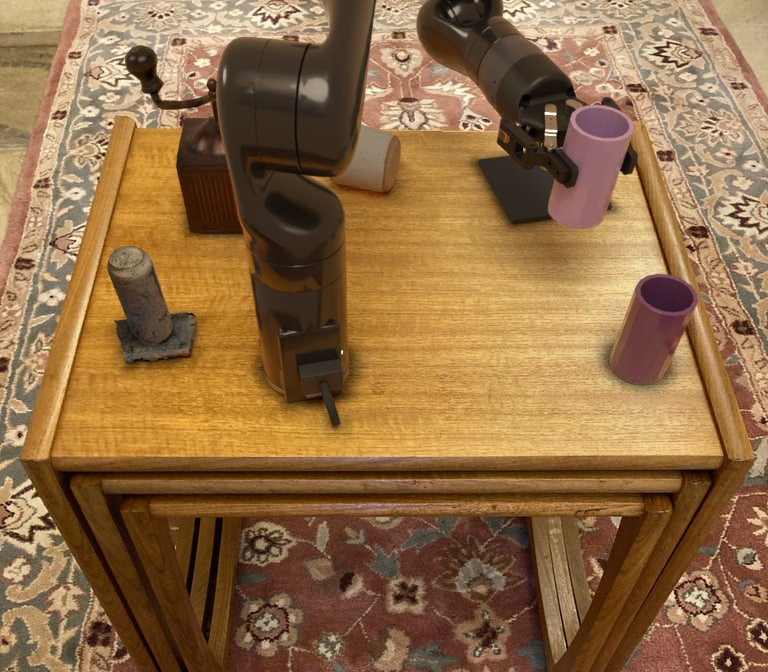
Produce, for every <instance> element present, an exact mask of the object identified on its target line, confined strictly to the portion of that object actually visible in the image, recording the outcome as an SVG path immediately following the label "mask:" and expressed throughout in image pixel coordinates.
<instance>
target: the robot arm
mask: <svg viewBox="0 0 768 672" xmlns="http://www.w3.org/2000/svg"><path fill="white" fill-rule="evenodd" d="M377 1H378V0H320V2H321V5H322V8H323V11H324V15H325V17H326V21H327V24H328V33H327V37H326V38H325V40H323V42H321V43H311V42H307V41H306V42H305V41H296V40H287V39H279V38H278V39H277V38H269V37H268V38H267V37H258V36H237V37H235V38H234V39H232V40H230V41H229V42H228V43H227V45H226V46H225V47H224V49H223V51H222V53H221V55H220V59H219V62H218V67H217V73H216V81H217V84H216V101H217V111H218V120H219V127H220V132H221V138H222V143H223V148H224V152H225V157H226V161H227V166H228V170H229V174H230V179H231V184H232V188H233V193H234V199H235V205H236V210H237V215H238V218H239V221H240V224H241V226H242V228H243V240H244V245H245V246H244V247H245V252H246V260H247V267H248V272H249V281H250V286H251V294H252V299H253V306H254V312H255V320H256V327H257V333H258V346H259V348H260V351H261V357H262V371H263V376H264V378H265V381H266V382H267V384H268V385H269V386H270V387H271V388H272V389H273V390H274V391H275V392H277V393H279V394H281V395H282V396H283V397H284V399H285V402H286V403H294V402H300V401H306V400H312V399H318V398H322V399H323V402H324V406H325V408H326V412H327V415H328V418H329V422H330V424H331V426H332V427H338V426H340V425H341V424H342V423H341V418H340V416H339V413H338V408H337V406H336V403H335V400H334V395H339V394H340V395H341V394H343V392H344V389H345V388H344V383H345V382H346V380H347V378H348V376H349V372H350V357H349V336H348V335H349V334H348V329H349V328H348V291H347V290H348V288H347V231H346V226H347V225H346V212H345V208H344V204H343V202H342V200H341V198H340V197H339V196H338V194H337V193H336V192H335V191H334V190H333V189H332V188H330V187H329V186H327V184H325V183H323V182H322V181H320V180H317V179H316V178H330V177H338V176H340V175H342V174H343V173H345V172H346V170H347V169H348V168H349V166H350V164H351V162H352V160H353V157H354V154H355V152H356V148H357V144H358V140H359V134H360V129H361V125H362V122H363V114H364V106H365V99H366V91H367V81H368V74H369V64H370V58H371V57H370V55H371V49H372V39H373V29H374V23H375V13H376V9H377V8H376V7H377ZM504 8H505V7H504V0H426V1H425V2H424V3H423V4H422V5H421V6H420V8H419V10H418V11H417V14H416V19H415V30H416V35H417V38H418V41H419V43H420V45H421V47H422V48H423V49H424V51H425V52H426V54H427V55H428V56H429V57H430V58H431V59H432V60H433V61H435V62H436V63H438V64H439V65H441V66H443V67H444V68H447V69H449V70H451V71H453V72H456V73H458V74H460V75H463V76H465V77H467V78H469V79H470V80H471V81H472V83H474V84H475V86H476V87H477V88H478V89H479V90H480V91H481V92H482V94H483V96H484V97H485V100H486V101H487V103H488V104H489V105H490V107H491V108H492V109H493V110H494V111H495V112H496V113H497V115H498V116H499V117H500V120H499V126H498V132H497V138H496V144H497V145H498V146H499V147H500V148H502V150H503V151H504V152H505V153H506V154H507V155H510V156H511V157H512V158H513V159H514V160H515V161H516V162H517V163H518V164H519V165H520V166H521V167H522V168H523V169H525V170H532V169H533V167H534V166H540V168H541V169H543V170H548V171H549V173H550V174H551V175H552V176H553V177H554V178H555V179H556V181H557V182H558V183H560V184H563V185H564V186H565V187H566V188H567V189H568V188H572V187H574V186H575V184H576V181H577V177H578V174H579V169H578V167H577V166H576V165H575V163H574V162H573V161H572V160H571V159H570V158H569V157H568V156H567V155H566V154H565V152H564V151H563V150H562V149H561V148H563V145H564V141H565V137H566V133H567V129H568V125H569V122H570V118H571V115H572V113H573V112H574V111H575V110H577V109H578V108H580V107H584V106H587V105H589V103H588V102H586V101H584V100H581V99H579V98H578V97H577V95H576V92H575V88H574V85H573V83H572V80H571V78H570V77H569V76H568V75H567V74H566V73H565V72H564V71H563V69H562V68H560V67H559V65H557V64H556V63H555V62H554V60H552V59H551V58H550V57H549V56H548V55H547V54H546V53H545V52H544V51H543V50H542V48H540V47H539V46H538V45H537V44H536V43H534V42H532V41H530V40H529V39H528V38H527V37H525V35H524V34H523V33H522V32H521V31H520V30H519V29H518V27H517V28H516V26H515V25H513V23H512V22H510V21H509V20H508V19H507V18H505V17H504V10H505V9H504ZM600 105H603V106H608V107H612V108H615V109H617V110H619V111H621V112H623V113H624V111H623V110H622V109H621V107H619V105H618V103H616V101H615V100H614V99H613V98H612V97H609V96H605V97H602V99H601V102H600ZM638 157H639V153H638V151H636V150H635V149H634V148H633V147H632V145H630V144H629V146H628V149H627V152H626V155H625V158H624V161H623V163H622V166H621V169H620V173H621V174H622V175H623V176H628V175H632V174H633V172H634V170H635V167H636V165H637V161H638ZM314 177H315V178H314Z"/></svg>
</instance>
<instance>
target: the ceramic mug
mask: <svg viewBox="0 0 768 672" xmlns="http://www.w3.org/2000/svg"><path fill="white" fill-rule="evenodd" d="M401 154H402V143H401V140H400V139H399V137H398V136H397V135H395V134H393V133H391V132H388V131H386V130H383V129H378V128H374V127H371V126H367V125H364V124H361V129H360V134H359V140H358V144H357V148H356V152H355V154H354V157H353V160H352V162H351V164H350V166H349V168H348V169H347V170H346V172H345V173H343V174H342V175H340V176H338V177H329V179H330V182H332V183H333V184H338V185H341V186H347V187H351V188H357V189H363V190H367V191H372V192H377V193H386V192H388V191H390V190H391V189H392V188H393V185H394V184H395V181H396V179H397V177H398V176H397V175H398V171H399V168H400V162H401Z"/></svg>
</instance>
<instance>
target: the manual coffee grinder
mask: <svg viewBox="0 0 768 672" xmlns="http://www.w3.org/2000/svg"><path fill="white" fill-rule="evenodd" d="M158 63H159V59H158V55H157V53H156V52H155V51H154V49H153V48H151V47H150V46H148V45H144V44H138V45H135V46H133V47H131V48H130V49H129V50H128V52H127V53H125V55H124V64H125V68H126V70H127V73H129V74H130V75H132V77H134V78H136V79H137V80H138V81H139V82H140V89H141V92H142V94H144V95H145V94H146V95H147V94H148V95H149V96H150V98H151V101H152V103H153V105H154V106H155V107H157V108H158V109H160V110H163V111H177V110H186V109H187V110H188V109H195V108H199V107H202V106H205V105H207V104H209V103H210V104H211V109H212V115H211V116H207V117H185V118H184V121H183V124H182V129H181V133H180V137H179V143H178V147H177V153H176V163H175V168H176V169H175V170H176V173H177V178H178V182H179V186H180V190H181V196H182V200H183V203H184V208H185V213H186V219H187V223H188V230H189V232H190V233H195V234H201V235H231V234H232V235H238V234H239V235H241V234H243V235H244V233H243V228H242V226H241V224H240V221H239V218H238V215H237V210H236V205H235V199H234V193H233V188H232V184H231V179H230V174H229V170H228V166H227V161H226V157H225V152H224V148H223V143H222V138H221V132H220V127H219V120H218V111H217V101H216V84H217V79H215V78H213V77H211V78H208V80H207V82H206V83H205V84H206V85H205V86H206V88H207V90H208V91H207V94H205V95H202V96H200V97H196V98H192V99H185V100H176V101H174V100H173V101H165V100H163V99H161V96H160V92H161V89H162V88H163V87H164V85H165V83H164V81H163V80H162V78H160V77H159V74H158Z"/></svg>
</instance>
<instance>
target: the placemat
mask: <svg viewBox="0 0 768 672" xmlns="http://www.w3.org/2000/svg"><path fill="white" fill-rule="evenodd" d="M560 149H563V147H562V148H560ZM477 165H478V167H479V168H480V170H481V172H482V173H483V175H484V177H485V178H486V179H485V180H486V181H487V183H488V184H489V186H490V187H491V189H492V191H493V193H494V194H495V196H496V198H497V200H498V202H499V203H500V206H501V207H502V209H503V211H504V212H505V214H506V216H507V218H508V219H509V221H510V223H511V224H512V225H515V224H522V223H531V222H536V221H543V220H549V219H553V218H552V217H551V216H550V214H549V212H548V202H549V199H550V195H551V191H552V187H553V183H554V179H555V178H554V177H553V176H552V175H551V174H550V173H549V171H548V170H543V169H541V168H540V166H534V167H533V169H532V170H525V169H523V168H522V167H521V166H520V165H519V164H518V163H517V162H516V161H515V160H514V159H513V158H512V157H511V156H510V155H509V154H507V155H501V156H495V157H487V158H480V159H478V160H477ZM612 208H613V205H612V203H611V201H610V202H609V205H608V208H607V211H610V210H612Z"/></svg>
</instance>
